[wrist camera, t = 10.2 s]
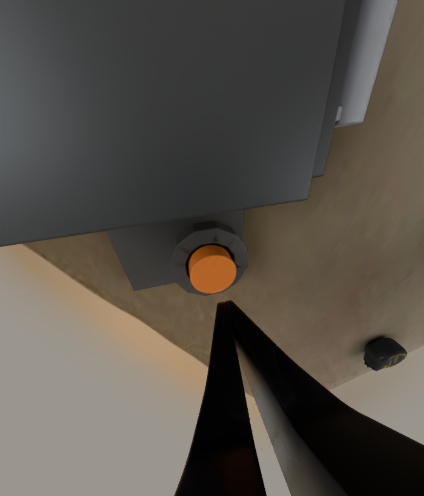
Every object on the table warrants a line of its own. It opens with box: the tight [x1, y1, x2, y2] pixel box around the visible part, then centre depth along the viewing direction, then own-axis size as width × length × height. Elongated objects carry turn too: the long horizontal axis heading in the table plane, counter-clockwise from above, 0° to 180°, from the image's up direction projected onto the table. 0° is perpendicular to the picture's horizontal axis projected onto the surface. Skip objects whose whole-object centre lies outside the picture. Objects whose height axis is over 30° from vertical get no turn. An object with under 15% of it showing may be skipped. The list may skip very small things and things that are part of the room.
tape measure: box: [364, 338, 407, 371], centre depth 34 cm, size 7×7×4 cm
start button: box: [189, 245, 236, 293], centre depth 13 cm, size 4×4×2 cm
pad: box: [106, 210, 248, 296], centre depth 14 cm, size 11×9×4 cm
